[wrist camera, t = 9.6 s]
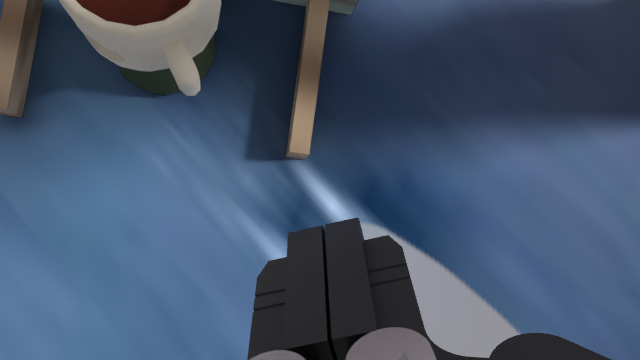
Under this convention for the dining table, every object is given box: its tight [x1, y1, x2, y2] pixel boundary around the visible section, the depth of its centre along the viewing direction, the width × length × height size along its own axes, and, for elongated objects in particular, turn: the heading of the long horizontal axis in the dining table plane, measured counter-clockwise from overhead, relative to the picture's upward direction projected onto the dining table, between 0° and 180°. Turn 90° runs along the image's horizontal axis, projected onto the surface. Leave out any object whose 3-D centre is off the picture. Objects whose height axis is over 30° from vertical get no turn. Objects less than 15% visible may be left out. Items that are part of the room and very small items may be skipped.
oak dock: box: [0, 0, 359, 160], centre depth 34 cm, size 11×22×7 cm, turn 82°
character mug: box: [59, 0, 221, 96], centre depth 31 cm, size 11×7×13 cm, turn 25°
